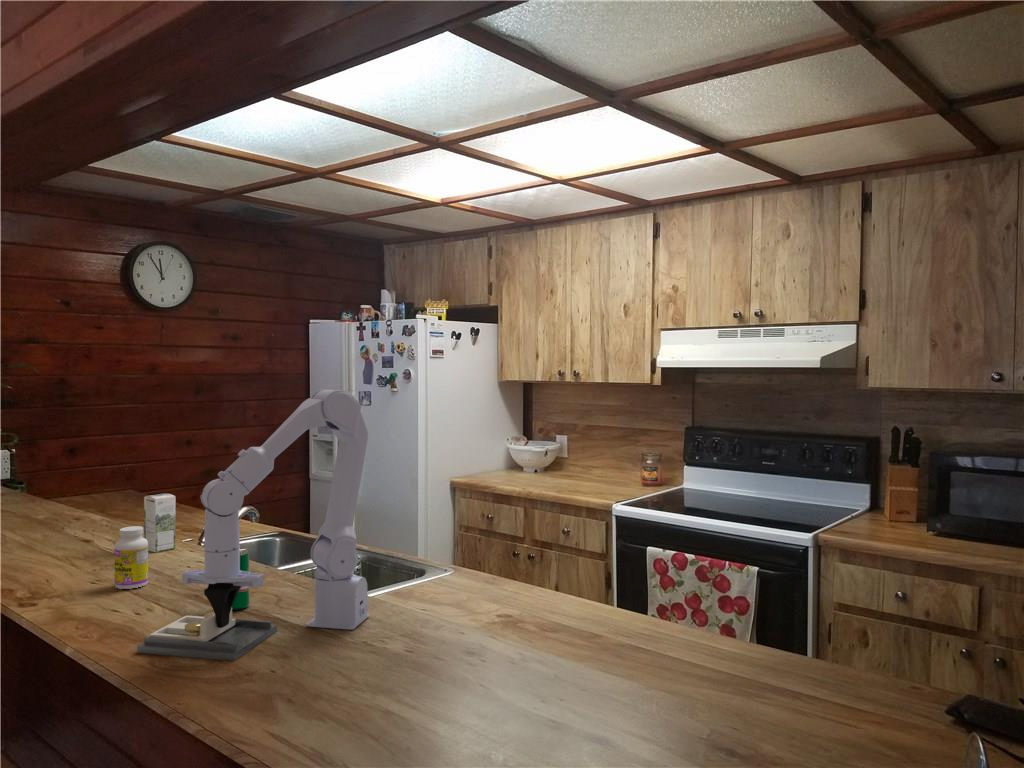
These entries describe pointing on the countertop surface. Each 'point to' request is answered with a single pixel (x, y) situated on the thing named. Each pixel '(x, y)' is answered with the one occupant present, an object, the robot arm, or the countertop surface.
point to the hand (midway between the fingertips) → (223, 625)
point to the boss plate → (212, 641)
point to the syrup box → (160, 522)
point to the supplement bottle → (131, 559)
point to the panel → (206, 628)
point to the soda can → (243, 593)
